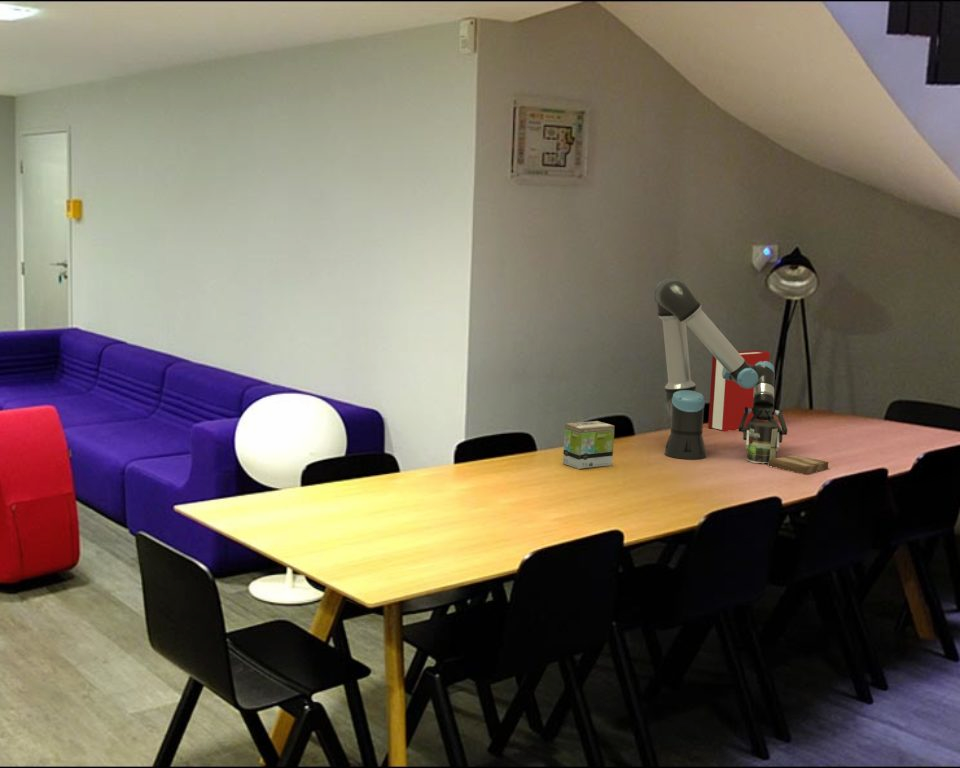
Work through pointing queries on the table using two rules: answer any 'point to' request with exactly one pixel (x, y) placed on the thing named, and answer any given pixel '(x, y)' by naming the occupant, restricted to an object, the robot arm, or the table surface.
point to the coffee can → (762, 441)
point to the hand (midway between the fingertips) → (762, 448)
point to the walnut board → (798, 464)
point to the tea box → (588, 444)
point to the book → (731, 395)
